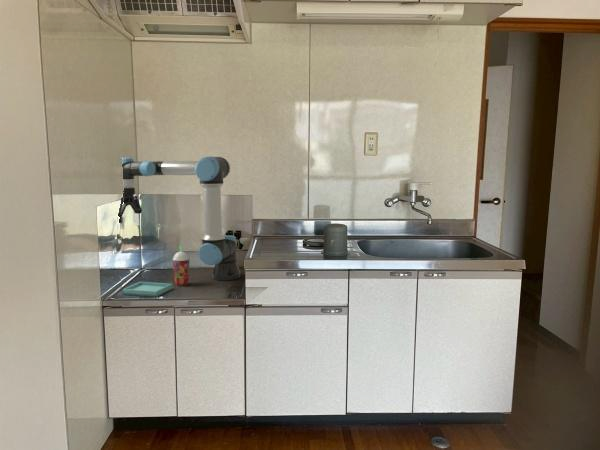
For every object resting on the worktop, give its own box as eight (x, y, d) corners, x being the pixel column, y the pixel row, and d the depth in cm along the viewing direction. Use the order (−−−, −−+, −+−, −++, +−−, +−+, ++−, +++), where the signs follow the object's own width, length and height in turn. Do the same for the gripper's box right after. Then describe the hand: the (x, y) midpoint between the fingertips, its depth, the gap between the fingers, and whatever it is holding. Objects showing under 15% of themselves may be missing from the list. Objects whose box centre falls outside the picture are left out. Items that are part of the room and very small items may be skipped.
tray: (172, 288, 226) (171, 283, 226) (156, 296, 213) (156, 291, 212) (140, 286, 231) (140, 281, 231) (123, 294, 217) (122, 289, 217)
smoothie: (193, 282, 237) (191, 244, 234) (186, 287, 229) (184, 248, 226) (178, 282, 238) (176, 244, 235) (170, 286, 230) (169, 247, 227)
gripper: (135, 185, 254) (137, 223, 257) (105, 188, 230) (108, 230, 233) (147, 186, 252) (149, 224, 255) (118, 188, 228) (120, 230, 231)
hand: (129, 227), depth 244 cm, fingers open, 13 cm apart
